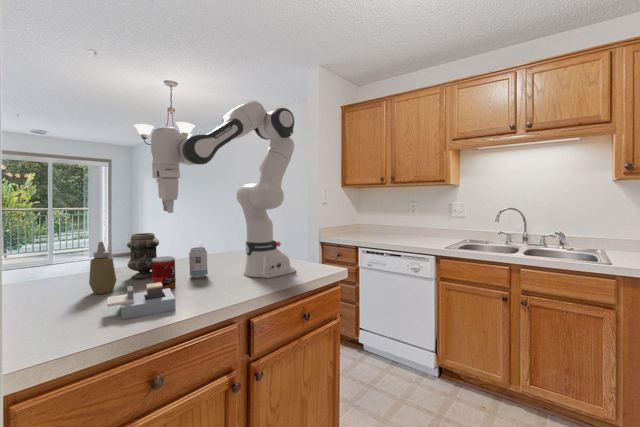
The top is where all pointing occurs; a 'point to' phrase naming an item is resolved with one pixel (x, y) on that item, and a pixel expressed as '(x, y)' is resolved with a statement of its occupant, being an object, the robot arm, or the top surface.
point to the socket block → (148, 305)
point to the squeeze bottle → (102, 271)
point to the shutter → (121, 298)
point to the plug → (154, 290)
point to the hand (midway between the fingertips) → (168, 211)
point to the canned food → (164, 271)
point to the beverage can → (198, 262)
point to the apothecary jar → (142, 254)
